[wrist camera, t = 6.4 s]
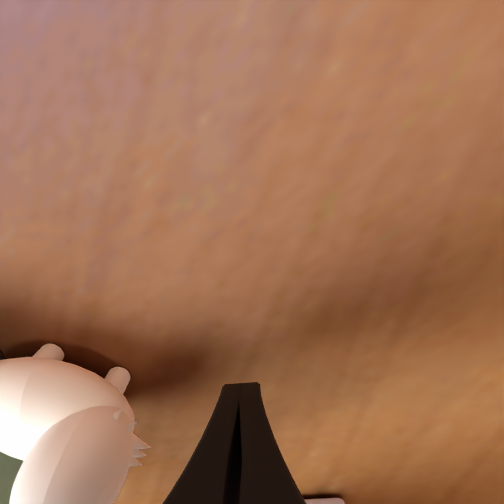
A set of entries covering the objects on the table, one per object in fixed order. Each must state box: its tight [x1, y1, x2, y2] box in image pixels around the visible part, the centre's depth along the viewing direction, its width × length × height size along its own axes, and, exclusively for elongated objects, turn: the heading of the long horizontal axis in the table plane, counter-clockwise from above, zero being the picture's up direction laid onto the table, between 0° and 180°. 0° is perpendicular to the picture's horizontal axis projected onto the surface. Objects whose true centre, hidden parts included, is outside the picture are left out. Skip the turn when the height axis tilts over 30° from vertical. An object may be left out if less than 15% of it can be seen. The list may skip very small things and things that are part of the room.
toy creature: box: [0, 344, 151, 504], centre depth 12 cm, size 5×8×6 cm, turn 65°
